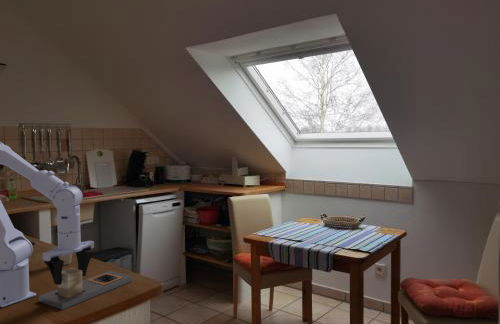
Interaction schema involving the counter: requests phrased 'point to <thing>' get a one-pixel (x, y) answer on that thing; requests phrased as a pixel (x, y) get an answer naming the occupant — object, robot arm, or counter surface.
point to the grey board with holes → (87, 289)
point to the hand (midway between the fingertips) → (70, 279)
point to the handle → (66, 259)
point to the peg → (71, 283)
